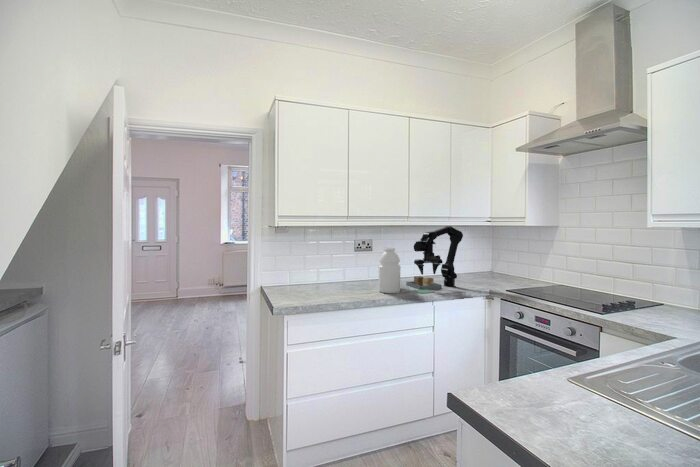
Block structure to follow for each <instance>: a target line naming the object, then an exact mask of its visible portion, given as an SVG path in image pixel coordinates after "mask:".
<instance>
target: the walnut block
mask: <svg viewBox="0 0 700 467" xmlns="http://www.w3.org/2000/svg"><path fill="white" fill-rule="evenodd" d="M423 277H424V276H423V275H422V276H421V275H418V276H417V275H416V276H413V281H414V284H416V285H419V286H423Z"/></svg>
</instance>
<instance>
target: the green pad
mask: <svg viewBox="0 0 700 467" xmlns="http://www.w3.org/2000/svg"><path fill="white" fill-rule="evenodd" d="M412 292H414V293H416V294H417V293H418V294H420V295H422V294H435V293H436V292H435V291H433V290H431V289H428V290H427V289H421V290H419V289H412Z"/></svg>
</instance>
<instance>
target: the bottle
mask: <svg viewBox="0 0 700 467" xmlns="http://www.w3.org/2000/svg"><path fill="white" fill-rule="evenodd" d="M383 250H384V252H383V253H381V255H380V257H379V260H378V261H379V263H380V264H379V265H378V291H379V293H383V294H398V293H400V292H401V266H400V264H399V263H400V262H401V259H400V257H399V254H397V253H396V252H395V251H396V248H395V247H384V249H383Z"/></svg>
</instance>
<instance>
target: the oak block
mask: <svg viewBox="0 0 700 467" xmlns="http://www.w3.org/2000/svg"><path fill="white" fill-rule="evenodd" d="M422 277H423V286H429V285H433V284H434V283H435V282H434V279H435V278H434V277H431V276H422Z"/></svg>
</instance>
